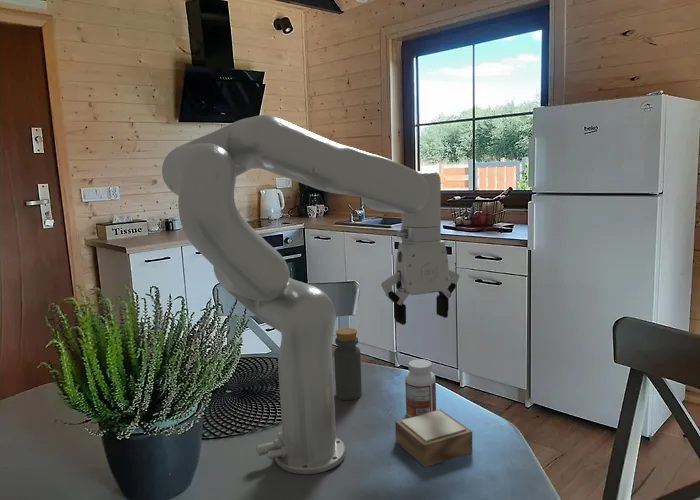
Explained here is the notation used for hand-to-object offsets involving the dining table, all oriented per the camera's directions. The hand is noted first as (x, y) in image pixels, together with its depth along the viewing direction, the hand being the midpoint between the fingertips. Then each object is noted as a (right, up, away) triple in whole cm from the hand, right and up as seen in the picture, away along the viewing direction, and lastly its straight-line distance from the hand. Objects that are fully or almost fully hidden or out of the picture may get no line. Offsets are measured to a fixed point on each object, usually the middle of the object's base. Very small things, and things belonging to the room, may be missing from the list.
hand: (421, 319), depth 111 cm
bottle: (-15, -19, +14) cm, 28 cm away
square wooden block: (+1, -22, -9) cm, 24 cm away
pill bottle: (0, -20, +3) cm, 21 cm away
